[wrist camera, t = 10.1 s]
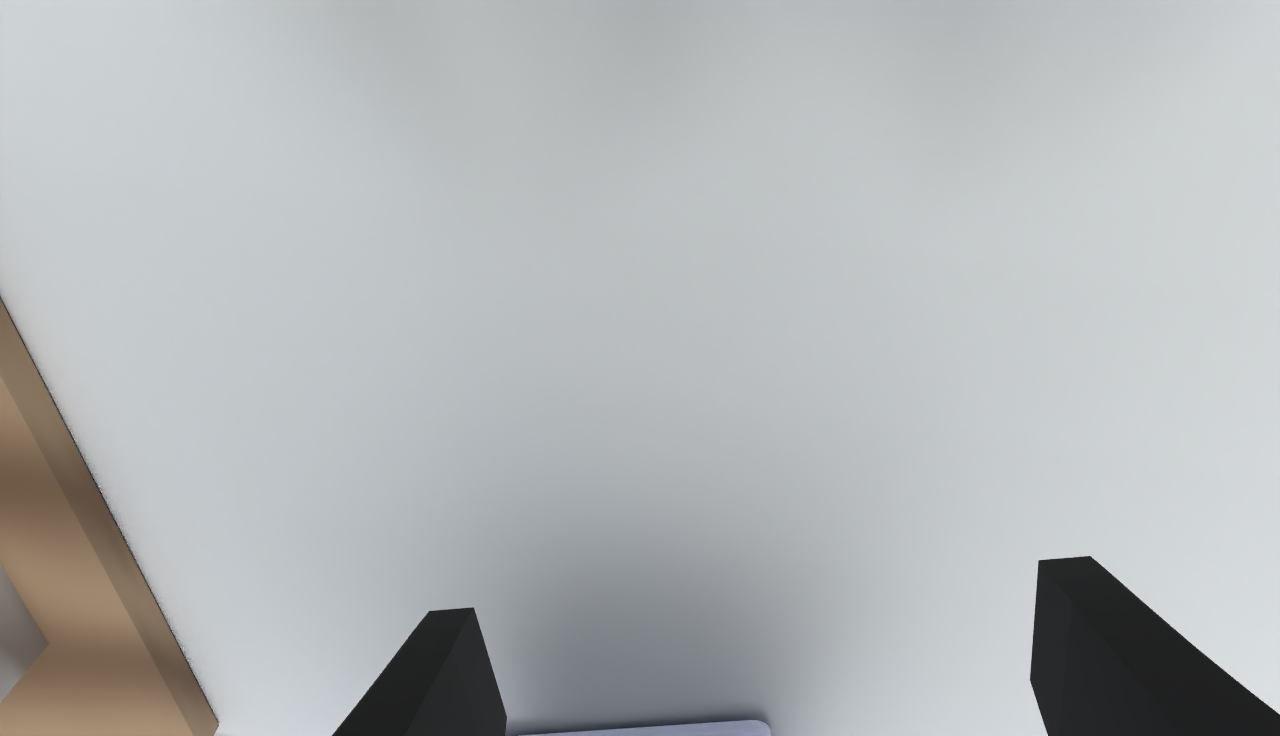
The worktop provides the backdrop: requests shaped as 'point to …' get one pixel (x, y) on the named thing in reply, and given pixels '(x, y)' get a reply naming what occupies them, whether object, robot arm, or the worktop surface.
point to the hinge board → (74, 589)
